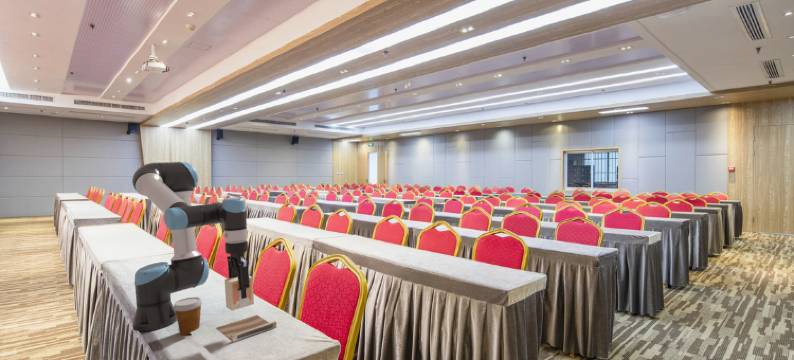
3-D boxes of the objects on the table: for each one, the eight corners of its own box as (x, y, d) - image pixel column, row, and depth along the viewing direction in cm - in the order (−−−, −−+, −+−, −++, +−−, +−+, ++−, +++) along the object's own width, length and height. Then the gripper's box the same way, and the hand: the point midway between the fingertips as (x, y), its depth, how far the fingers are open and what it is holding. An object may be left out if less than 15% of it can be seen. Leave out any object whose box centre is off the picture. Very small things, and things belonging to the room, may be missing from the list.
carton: (248, 300, 145) (246, 274, 144) (254, 304, 141) (252, 277, 141) (226, 307, 139) (224, 279, 139) (231, 310, 136) (230, 282, 135)
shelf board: (215, 331, 146) (215, 322, 146) (257, 318, 157) (256, 310, 157) (233, 346, 134) (232, 336, 133) (276, 331, 145) (276, 321, 145)
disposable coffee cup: (197, 324, 153) (195, 295, 152) (208, 331, 147) (206, 299, 146) (171, 333, 146) (168, 302, 145) (181, 340, 140) (179, 307, 139)
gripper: (216, 239, 143) (220, 301, 144) (235, 246, 130) (239, 314, 131) (236, 236, 148) (240, 296, 149) (257, 242, 135) (261, 308, 136)
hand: (240, 304), depth 140 cm, fingers closed on carton, 5 cm apart
